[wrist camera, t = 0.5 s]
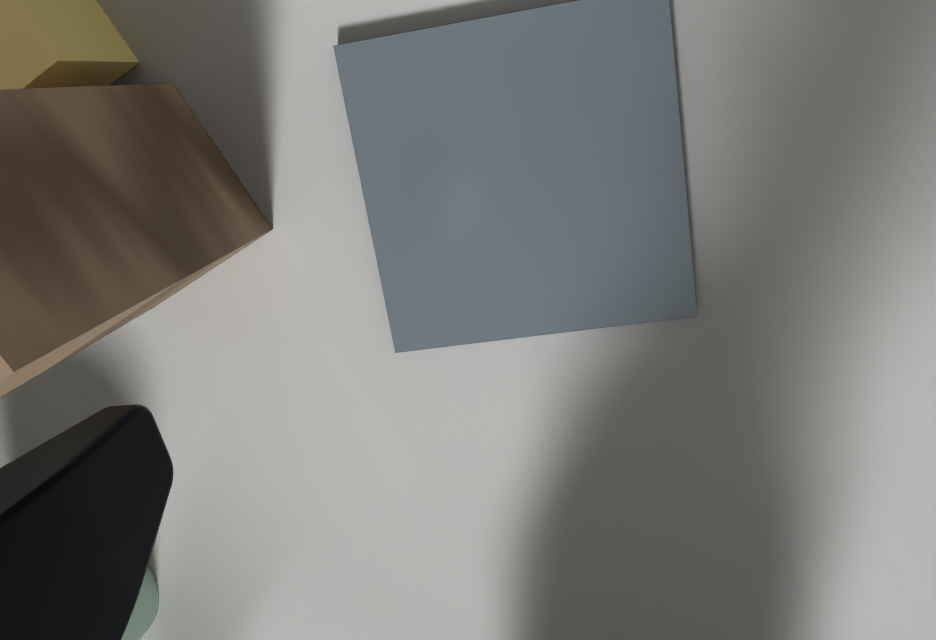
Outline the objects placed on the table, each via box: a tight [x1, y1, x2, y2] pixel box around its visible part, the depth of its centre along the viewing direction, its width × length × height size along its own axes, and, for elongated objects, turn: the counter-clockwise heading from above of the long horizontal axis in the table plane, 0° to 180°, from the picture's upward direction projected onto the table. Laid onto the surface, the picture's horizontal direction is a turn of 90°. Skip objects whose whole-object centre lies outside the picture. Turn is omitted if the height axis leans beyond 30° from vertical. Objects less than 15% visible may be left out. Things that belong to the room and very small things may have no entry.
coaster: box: [333, 0, 697, 353], centre depth 23 cm, size 9×9×1 cm
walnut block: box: [0, 83, 273, 397], centre depth 19 cm, size 5×5×12 cm
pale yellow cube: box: [0, 0, 139, 90], centre depth 21 cm, size 4×4×4 cm
